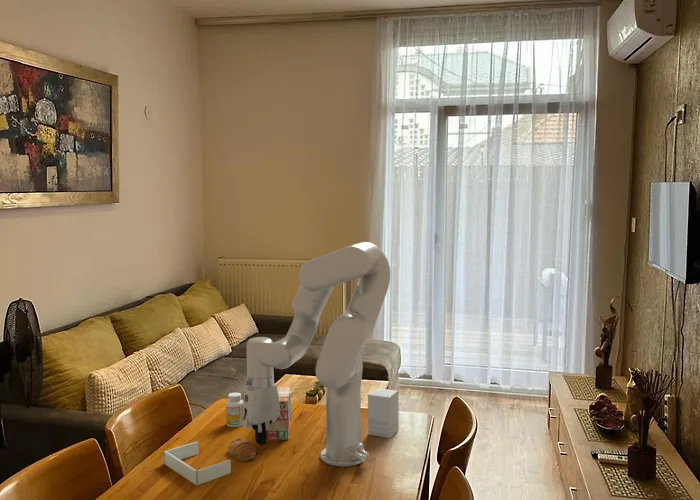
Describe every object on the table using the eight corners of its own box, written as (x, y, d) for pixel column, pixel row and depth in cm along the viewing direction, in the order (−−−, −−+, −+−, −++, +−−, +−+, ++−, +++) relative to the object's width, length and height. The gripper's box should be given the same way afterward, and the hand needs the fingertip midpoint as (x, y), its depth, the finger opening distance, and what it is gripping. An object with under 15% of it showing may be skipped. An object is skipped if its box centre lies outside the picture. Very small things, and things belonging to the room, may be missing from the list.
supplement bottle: (235, 420, 203) (234, 390, 202) (247, 423, 200) (246, 393, 199) (222, 425, 198) (222, 394, 198) (234, 428, 195) (234, 398, 194)
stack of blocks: (272, 415, 207) (271, 378, 206) (291, 415, 208) (291, 378, 206) (267, 440, 186) (266, 400, 185) (288, 440, 186) (288, 399, 185)
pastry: (262, 458, 174) (261, 445, 173) (239, 464, 170) (239, 451, 170) (247, 447, 181) (247, 434, 181) (225, 453, 178) (225, 440, 177)
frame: (230, 473, 164) (230, 460, 164) (196, 485, 157) (196, 471, 157) (197, 453, 177) (197, 441, 176) (164, 463, 170) (163, 451, 170)
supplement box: (399, 430, 193) (399, 390, 192) (389, 439, 187) (389, 397, 186) (377, 426, 197) (377, 387, 196) (367, 434, 190) (367, 393, 189)
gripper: (245, 389, 171) (246, 455, 173) (289, 379, 181) (290, 440, 183) (230, 383, 177) (231, 447, 178) (274, 373, 187) (274, 433, 188)
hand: (261, 443), depth 181 cm, fingers closed
